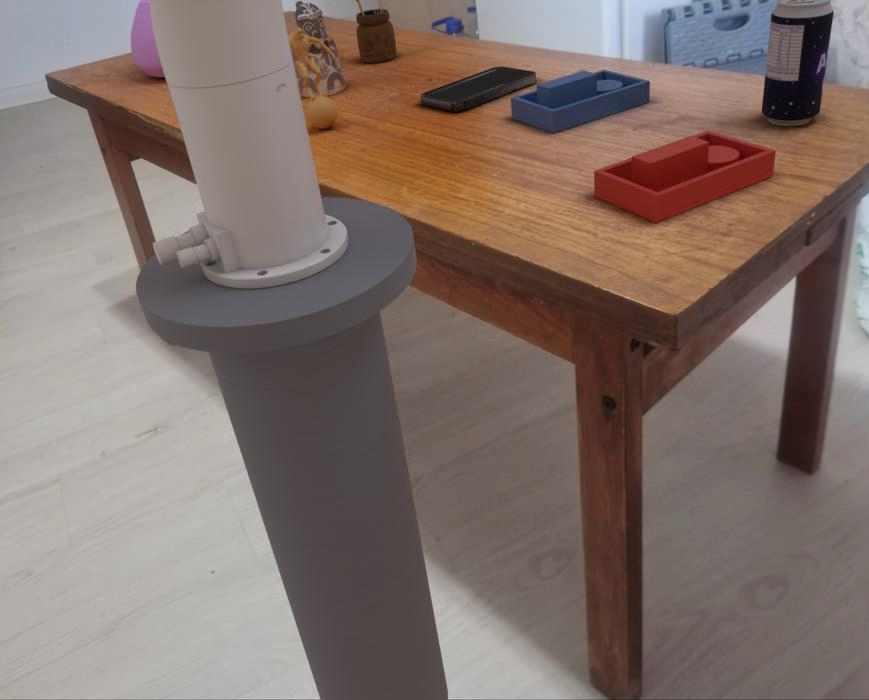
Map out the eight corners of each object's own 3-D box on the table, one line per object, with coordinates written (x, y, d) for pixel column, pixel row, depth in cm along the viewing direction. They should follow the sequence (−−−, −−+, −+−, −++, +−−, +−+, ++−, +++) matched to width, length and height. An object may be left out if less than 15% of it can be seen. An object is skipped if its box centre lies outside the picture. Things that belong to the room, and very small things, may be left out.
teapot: (287, 56, 140) (269, -31, 132) (170, 91, 129) (143, -3, 121) (227, 43, 155) (208, -36, 147) (118, 73, 144) (91, -11, 136)
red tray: (656, 223, 70) (656, 195, 69) (594, 196, 76) (593, 170, 75) (773, 176, 75) (776, 150, 74) (706, 154, 81) (707, 130, 80)
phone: (416, 95, 106) (498, 65, 114) (417, 104, 107) (499, 73, 114) (456, 104, 101) (540, 72, 109) (457, 113, 102) (540, 80, 109)
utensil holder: (383, 64, 127) (371, -19, 121) (351, 63, 130) (338, -18, 124) (404, 54, 131) (394, -27, 125) (373, 53, 134) (361, -26, 128)
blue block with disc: (555, 121, 94) (554, 89, 92) (532, 113, 97) (531, 83, 95) (630, 97, 98) (631, 66, 96) (606, 90, 101) (606, 60, 99)
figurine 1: (303, 101, 115) (284, 11, 109) (291, 90, 121) (273, 4, 114) (351, 90, 117) (335, 1, 110) (337, 79, 123) (322, -6, 116)
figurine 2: (303, 140, 100) (282, 39, 94) (281, 131, 105) (259, 33, 98) (360, 121, 104) (343, 22, 97) (336, 113, 108) (318, 18, 102)
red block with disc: (656, 205, 72) (658, 166, 70) (623, 191, 75) (623, 153, 73) (748, 169, 76) (752, 131, 74) (712, 158, 79) (715, 121, 77)
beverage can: (819, 128, 84) (836, 4, 77) (759, 128, 86) (772, 7, 79) (818, 110, 88) (834, -9, 81) (761, 110, 90) (773, -6, 83)
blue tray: (553, 133, 92) (552, 111, 90) (511, 118, 98) (510, 97, 97) (649, 102, 97) (650, 80, 96) (604, 89, 103) (604, 69, 102)
